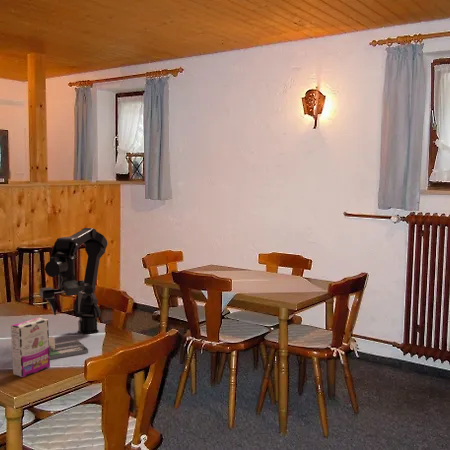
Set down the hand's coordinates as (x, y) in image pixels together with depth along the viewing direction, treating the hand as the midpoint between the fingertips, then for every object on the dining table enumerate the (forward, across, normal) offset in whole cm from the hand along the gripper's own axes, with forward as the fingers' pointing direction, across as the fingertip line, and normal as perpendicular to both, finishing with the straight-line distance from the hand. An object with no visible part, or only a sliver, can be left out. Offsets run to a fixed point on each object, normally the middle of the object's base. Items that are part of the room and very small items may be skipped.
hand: (67, 313), depth 201 cm
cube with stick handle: (+11, -9, -8) cm, 16 cm away
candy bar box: (+12, -18, -20) cm, 30 cm away
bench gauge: (+12, -6, -6) cm, 15 cm away
